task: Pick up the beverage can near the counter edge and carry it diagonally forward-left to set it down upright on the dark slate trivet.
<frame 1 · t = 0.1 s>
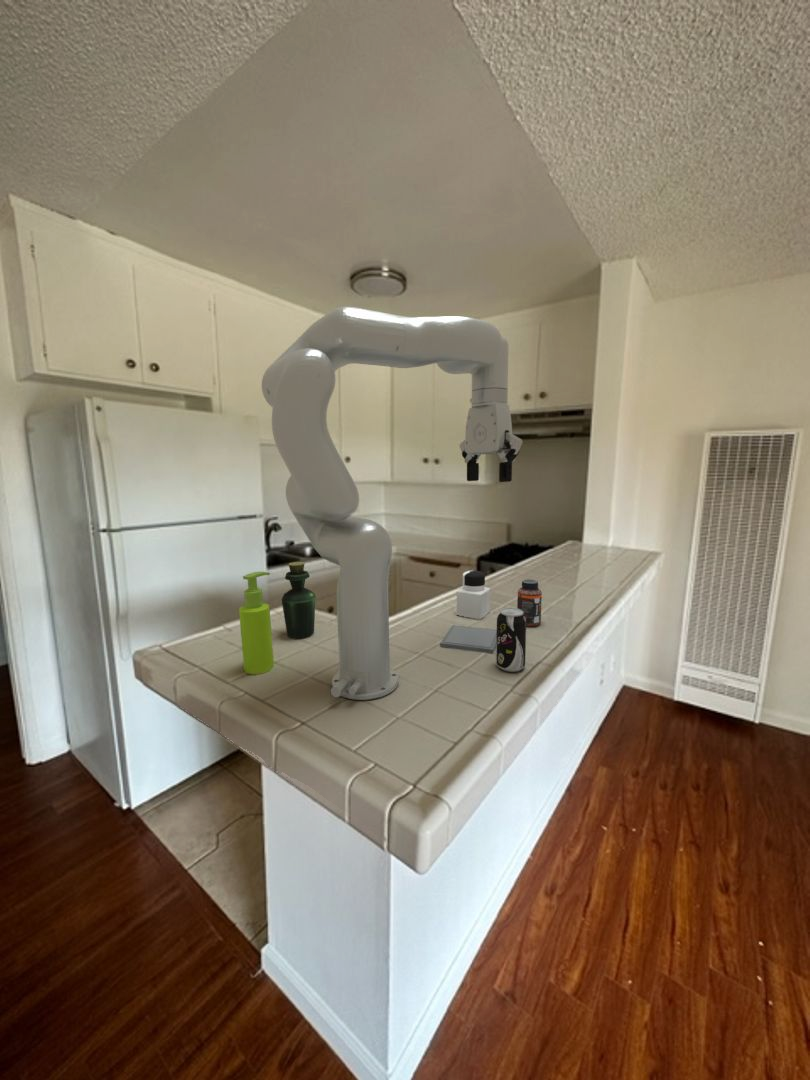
hand: (488, 481, 96), 37 cm above the table, tool pointing down, fingers open, 9 cm apart
trivet: (471, 639, 104), on the table
supplement bottle: (528, 624, 113), on the table
medicine bottle: (473, 614, 121), on the table
potion bottle: (300, 635, 109), on the table
soap dispenser: (261, 667, 92), on the table
beverage can: (510, 668, 89), on the table
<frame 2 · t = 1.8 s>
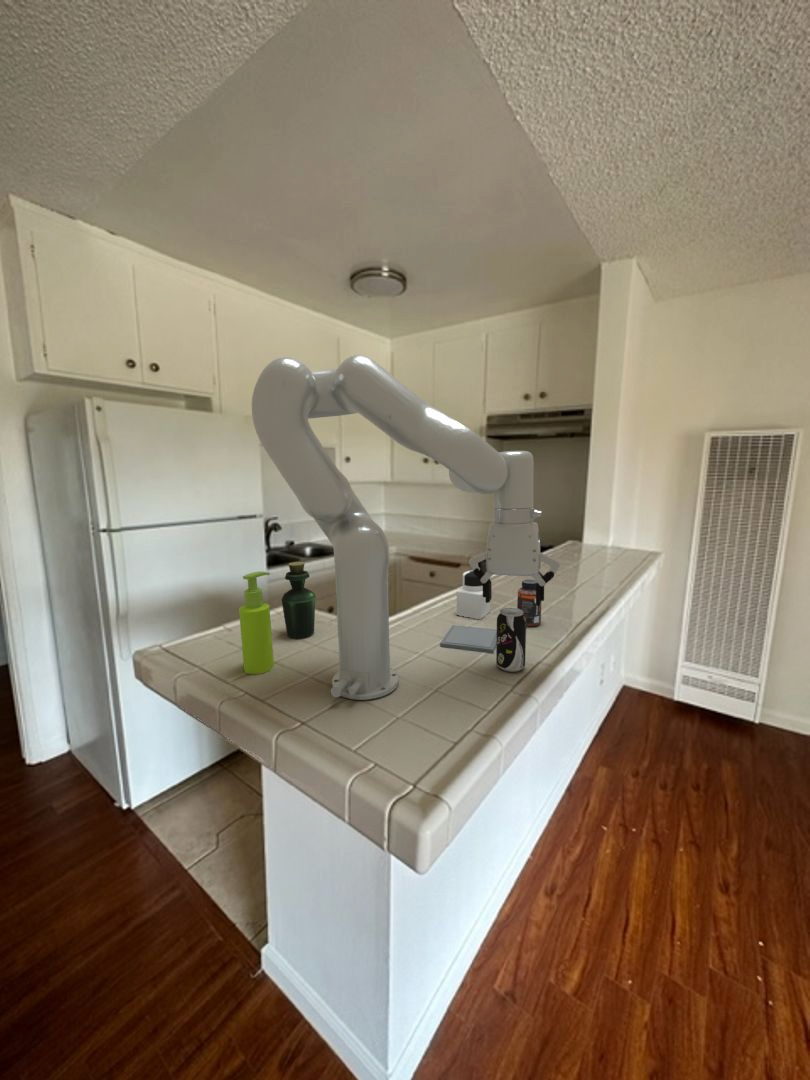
hand: (513, 602, 87), 14 cm above the table, tool pointing down, fingers open, 9 cm apart
nothing on the table moved.
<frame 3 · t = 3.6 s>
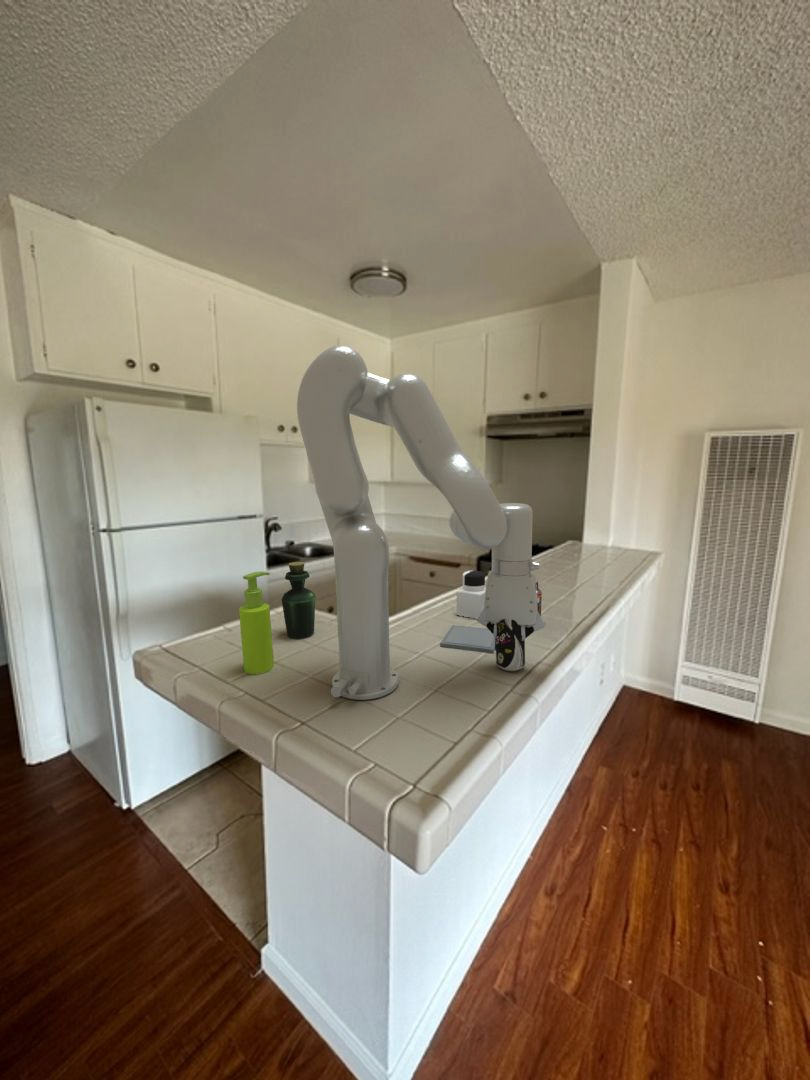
hand: (509, 654, 89), 3 cm above the table, tool pointing down, fingers closed on beverage can, 3 cm apart
beverage can: (510, 667, 89), on the table, touching gripper
everything else where it was.
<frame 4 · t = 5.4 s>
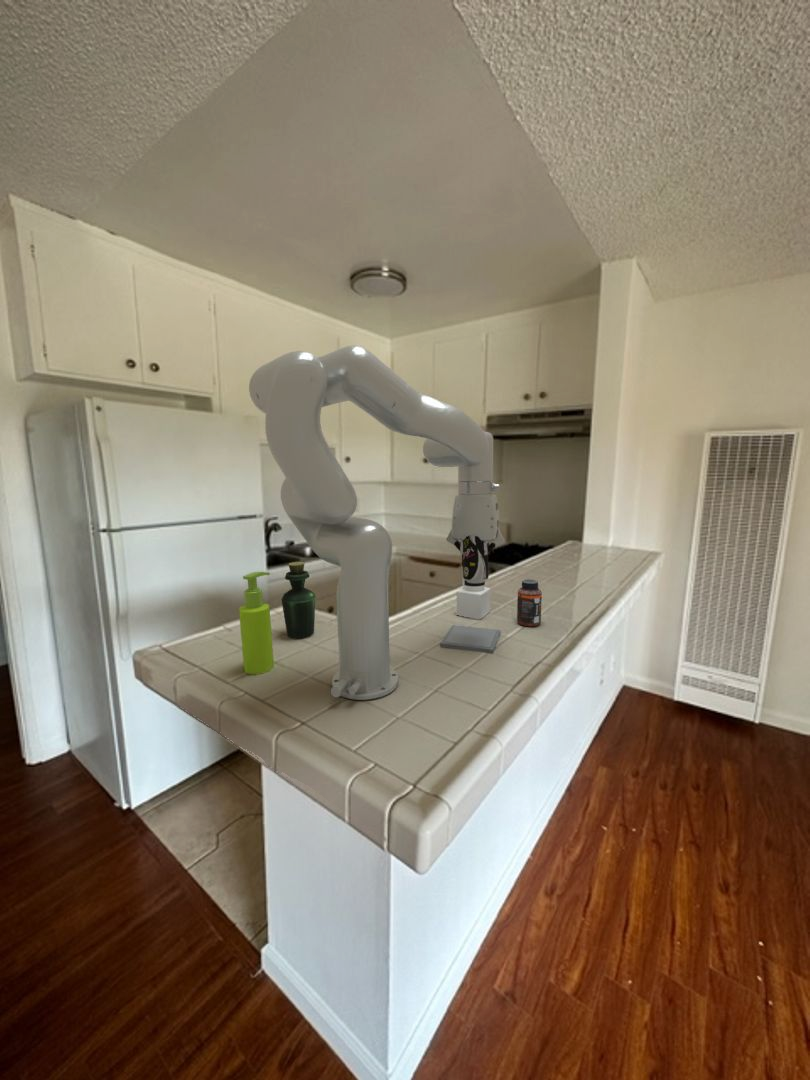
hand: (474, 569, 100), 17 cm above the table, tool pointing down, fingers closed on beverage can, 3 cm apart
beverage can: (475, 582, 100), point 14 cm above the table, touching gripper
everything else where it was.
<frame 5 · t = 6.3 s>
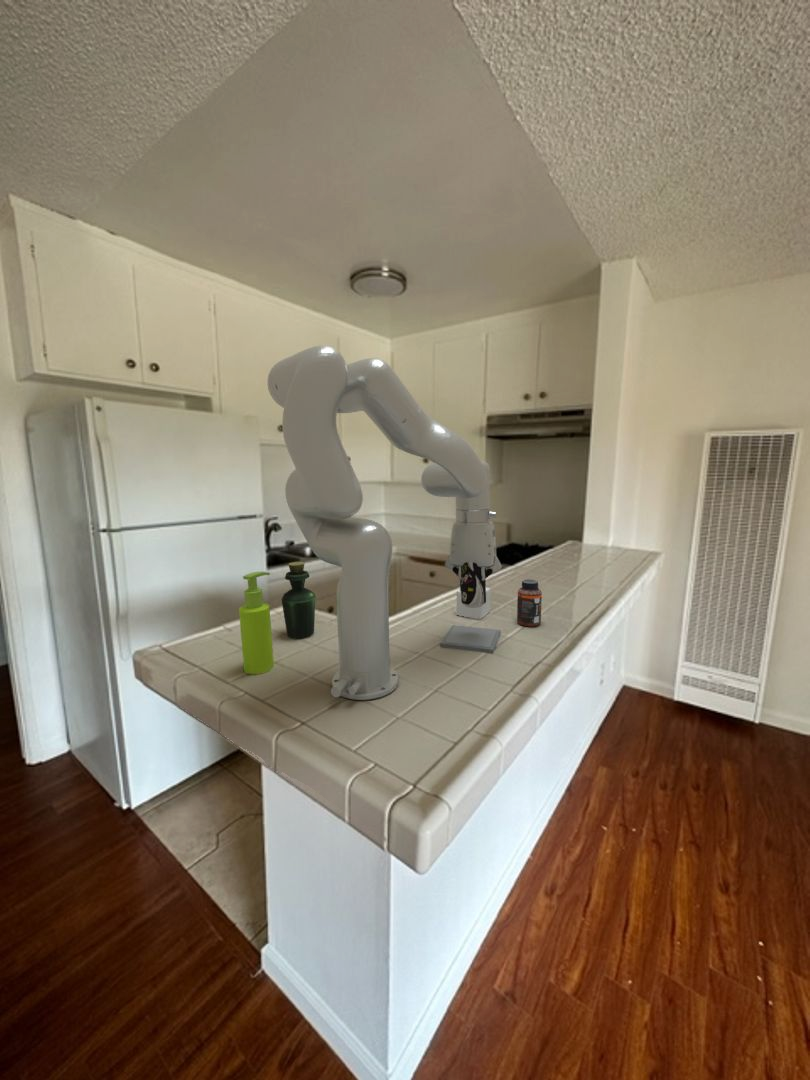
hand: (472, 594, 102), 11 cm above the table, tool pointing down, fingers closed on beverage can, 3 cm apart
beverage can: (473, 605, 103), point 8 cm above the table, touching gripper
everything else where it was.
when the fingers open (5 cm above the table, at t = 7.2 s): beverage can moves 1 cm, resting on trivet.
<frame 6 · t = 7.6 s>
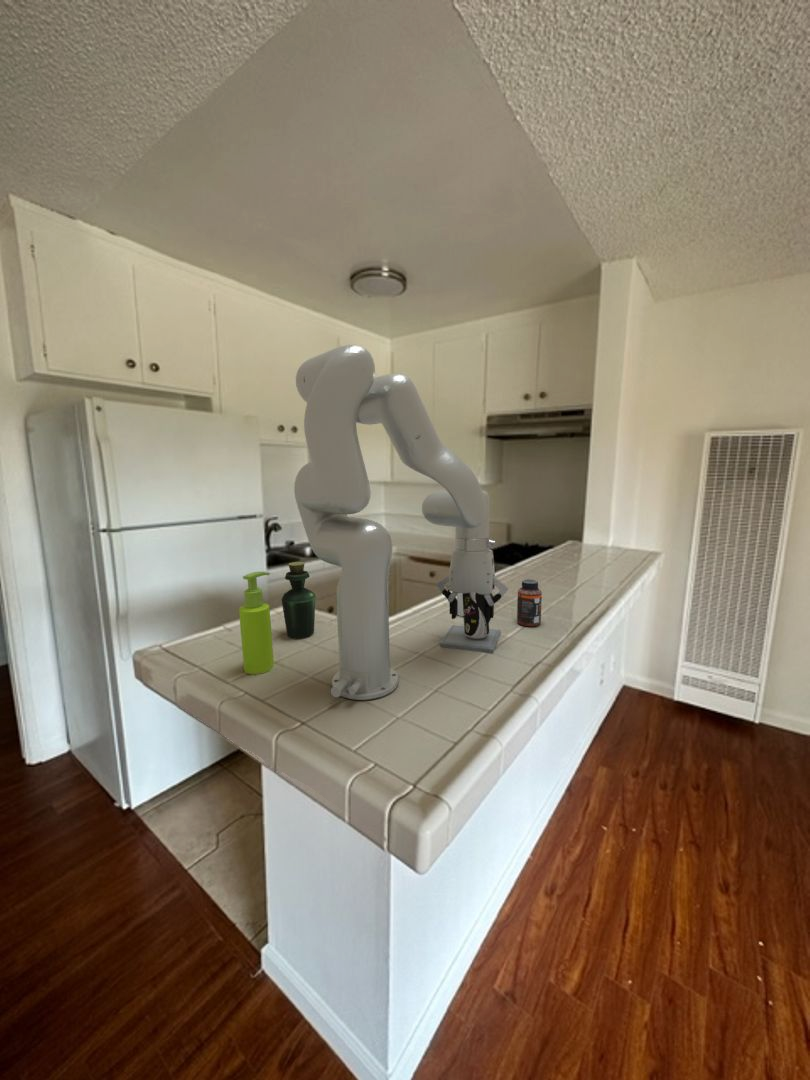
hand: (471, 618, 103), 5 cm above the table, tool pointing down, fingers open, 7 cm apart
beverage can: (477, 636, 103), point 1 cm above the table, touching trivet
everything else where it was.
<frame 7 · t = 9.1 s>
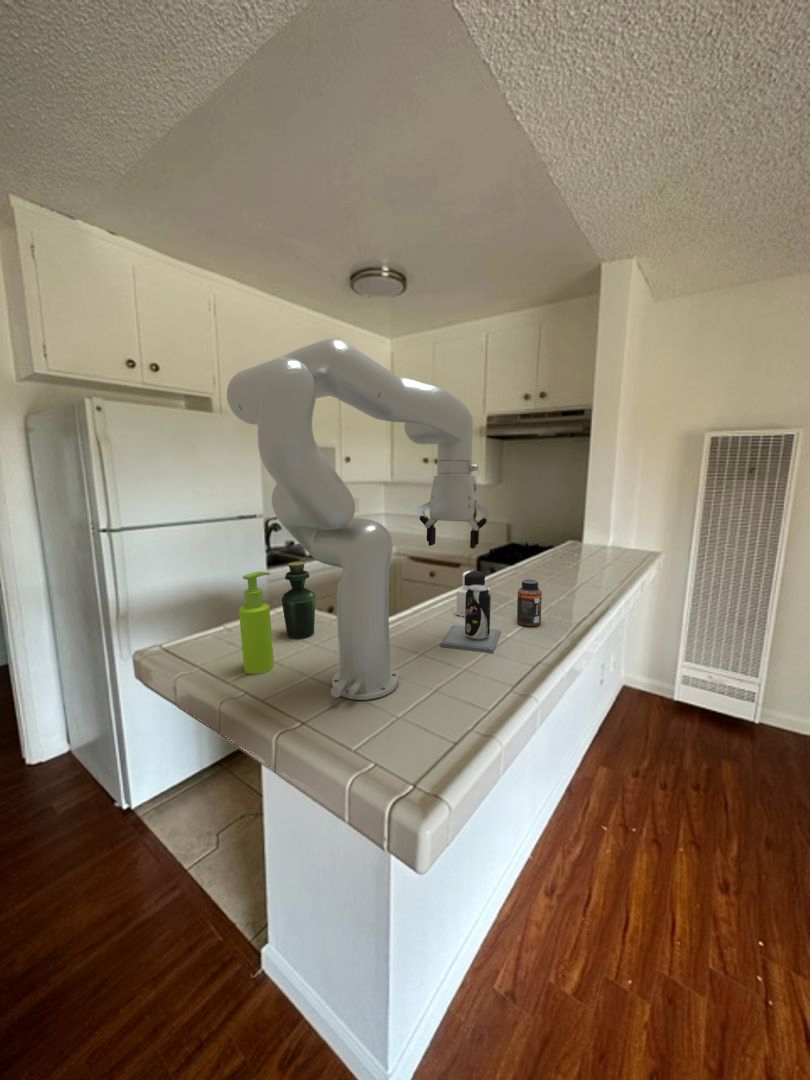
hand: (452, 546, 99), 23 cm above the table, tool pointing down, fingers open, 9 cm apart
nothing on the table moved.
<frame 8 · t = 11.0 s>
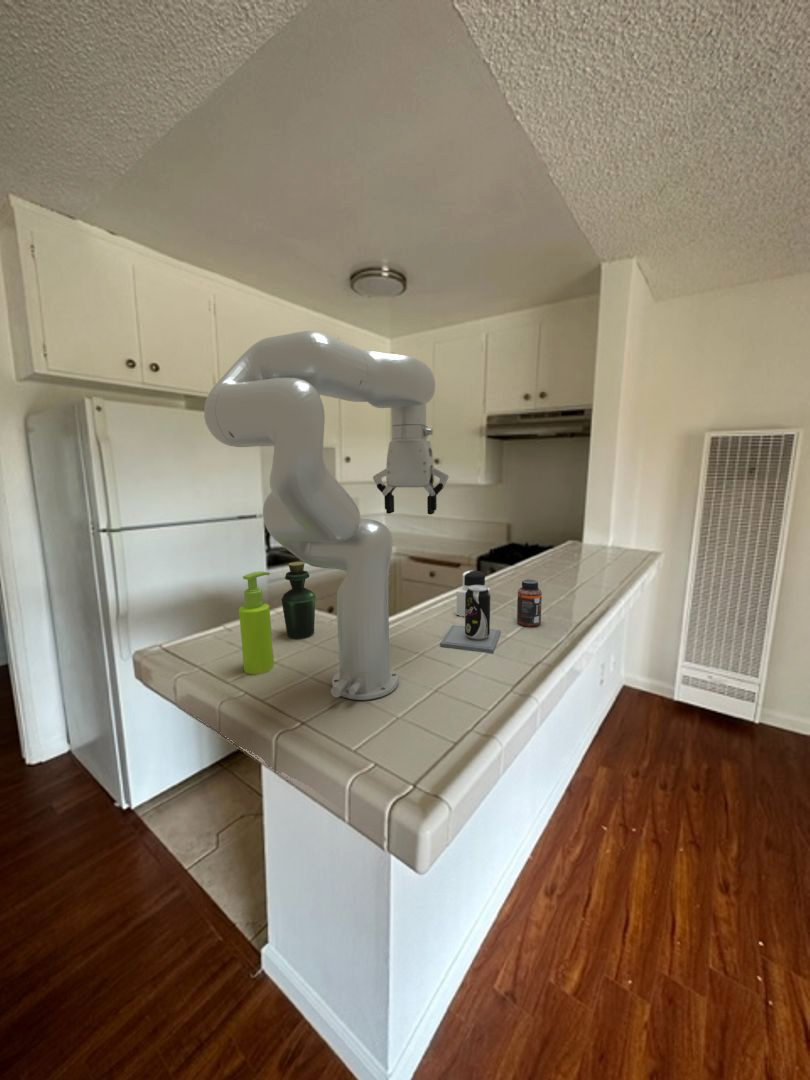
hand: (410, 513, 98), 30 cm above the table, tool pointing down, fingers open, 9 cm apart
nothing on the table moved.
at the end: beverage can 1.3 cm from the trivet (horizontally); beverage can tilted 0°; the gripper is holding nothing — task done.
